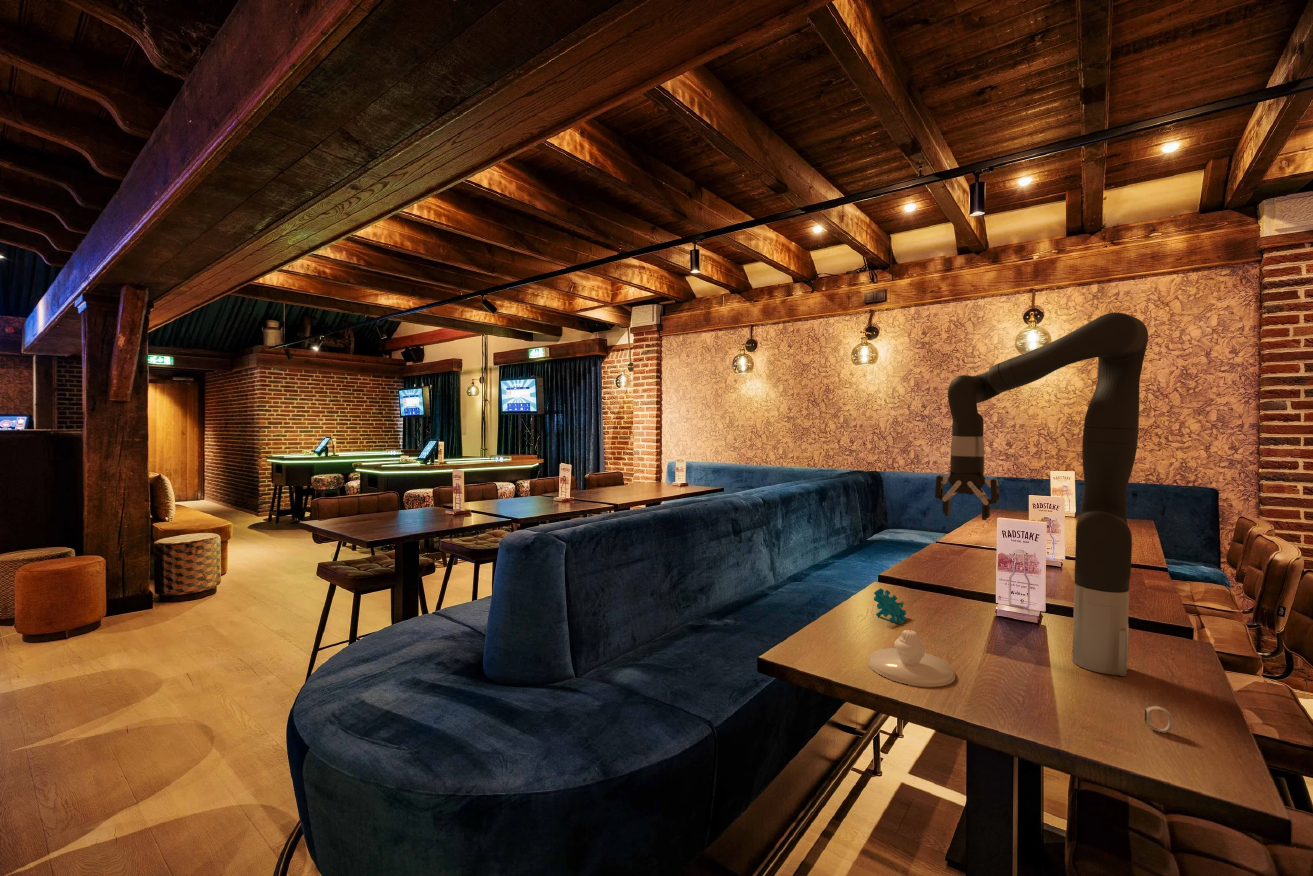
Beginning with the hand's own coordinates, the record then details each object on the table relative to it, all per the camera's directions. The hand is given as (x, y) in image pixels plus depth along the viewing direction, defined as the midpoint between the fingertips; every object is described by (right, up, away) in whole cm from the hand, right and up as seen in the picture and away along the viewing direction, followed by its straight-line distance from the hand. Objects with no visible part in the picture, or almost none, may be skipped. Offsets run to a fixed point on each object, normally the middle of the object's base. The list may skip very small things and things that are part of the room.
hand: (965, 517), depth 145 cm
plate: (-25, -28, -25) cm, 46 cm away
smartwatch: (+6, -30, -49) cm, 57 cm away
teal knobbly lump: (-17, -28, +6) cm, 33 cm away
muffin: (-26, -27, -25) cm, 45 cm away
